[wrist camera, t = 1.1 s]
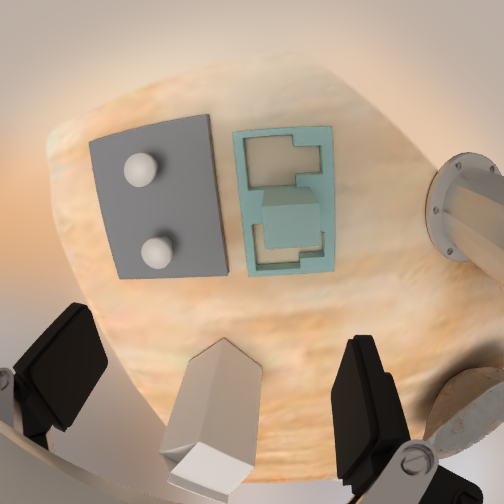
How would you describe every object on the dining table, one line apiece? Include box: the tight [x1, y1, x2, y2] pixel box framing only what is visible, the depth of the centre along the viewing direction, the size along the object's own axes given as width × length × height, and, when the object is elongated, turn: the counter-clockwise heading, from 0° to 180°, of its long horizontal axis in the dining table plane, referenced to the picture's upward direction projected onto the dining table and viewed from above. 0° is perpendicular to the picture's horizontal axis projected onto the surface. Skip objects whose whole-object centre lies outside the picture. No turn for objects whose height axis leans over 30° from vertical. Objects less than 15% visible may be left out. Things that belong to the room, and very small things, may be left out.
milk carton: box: [159, 338, 262, 504], centre depth 27 cm, size 7×7×19 cm
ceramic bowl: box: [422, 367, 504, 459], centre depth 32 cm, size 22×23×10 cm
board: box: [89, 114, 229, 279], centre depth 26 cm, size 13×16×4 cm
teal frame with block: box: [232, 126, 335, 277], centre depth 23 cm, size 9×14×7 cm, turn 6°
